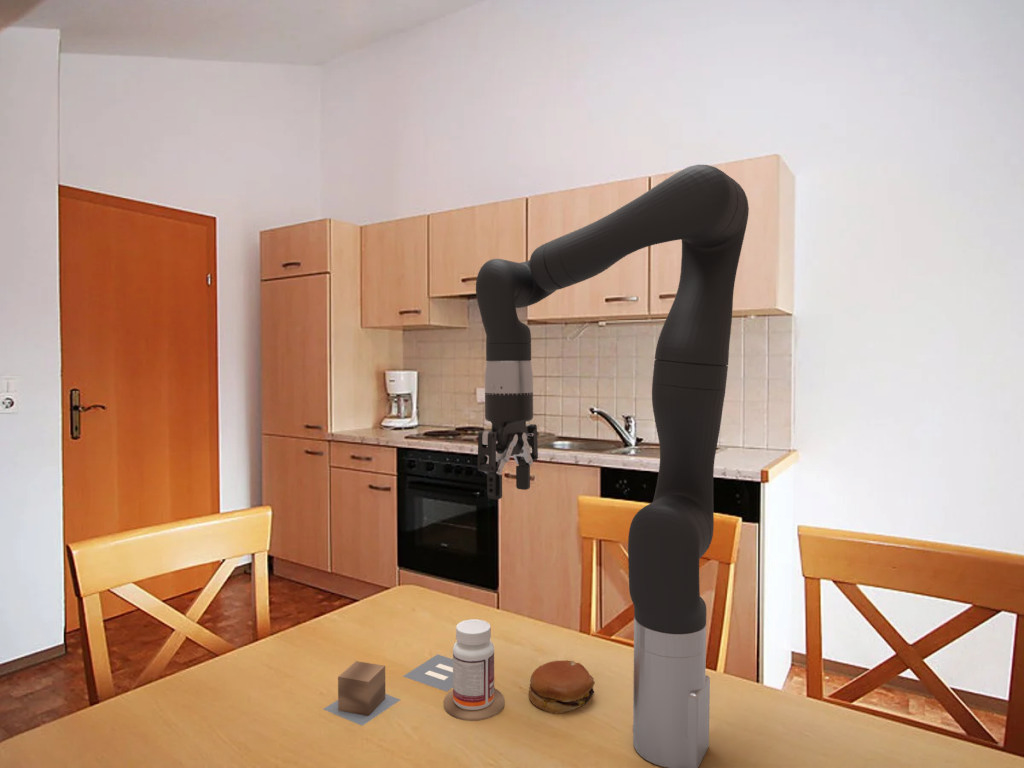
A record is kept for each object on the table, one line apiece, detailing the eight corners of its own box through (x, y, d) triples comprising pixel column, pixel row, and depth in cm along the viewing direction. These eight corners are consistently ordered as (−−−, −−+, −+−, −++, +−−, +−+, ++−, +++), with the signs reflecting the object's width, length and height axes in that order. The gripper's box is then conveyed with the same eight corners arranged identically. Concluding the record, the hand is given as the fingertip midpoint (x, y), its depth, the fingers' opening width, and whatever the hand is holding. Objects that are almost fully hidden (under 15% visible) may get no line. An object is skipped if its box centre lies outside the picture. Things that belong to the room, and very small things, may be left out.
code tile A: (479, 668, 105) (479, 667, 105) (446, 692, 98) (446, 691, 98) (437, 654, 110) (437, 654, 110) (402, 676, 102) (402, 676, 102)
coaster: (515, 698, 96) (515, 694, 96) (481, 728, 88) (481, 723, 88) (467, 682, 100) (467, 678, 100) (431, 709, 93) (431, 705, 93)
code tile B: (400, 700, 95) (400, 699, 95) (362, 726, 88) (362, 725, 88) (362, 685, 99) (362, 685, 99) (322, 709, 93) (322, 708, 93)
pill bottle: (478, 685, 98) (478, 614, 98) (502, 702, 94) (502, 627, 93) (444, 699, 94) (444, 624, 94) (468, 717, 90) (468, 638, 89)
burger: (523, 710, 93) (523, 679, 93) (537, 679, 102) (537, 651, 102) (589, 721, 90) (590, 689, 90) (598, 688, 99) (598, 659, 99)
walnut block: (385, 698, 96) (385, 665, 95) (368, 715, 91) (368, 681, 91) (356, 693, 97) (355, 661, 97) (338, 710, 92) (338, 676, 92)
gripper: (505, 392, 90) (506, 505, 91) (551, 388, 102) (551, 488, 103) (462, 391, 94) (463, 499, 94) (511, 388, 106) (512, 483, 107)
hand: (509, 493), depth 99 cm, fingers open, 8 cm apart
